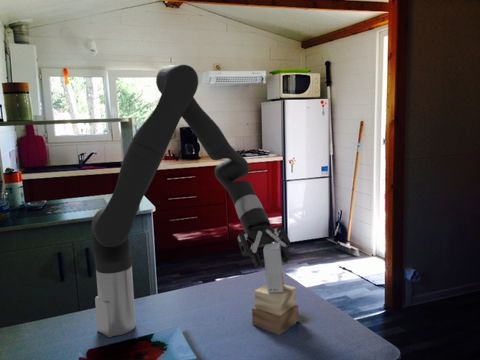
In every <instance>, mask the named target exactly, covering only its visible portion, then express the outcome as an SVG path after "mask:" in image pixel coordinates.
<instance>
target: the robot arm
mask: <svg viewBox="0 0 480 360" xmlns="http://www.w3.org/2000/svg"><path fill="white" fill-rule="evenodd" d="M155 79H156V80H155V81H156V87H157V90H158V92H160V93H161V95H160V97H159V99H158V102H157V104H156V107H155V108H154V110H153V111H152V113H151V114H150V115H149V116H148V117H147V119H146V120H145V121H144V122H143V123H142V124H141V126H140V127H139V128H138V130H136V132H135V134H134V135H133V136H132V139H131V141H130V143H129V145H128V147H127V150H126V152H125V154H124V156H123V159H122V163H121V166H120V168H119V173H118V177H117V181H116V186H115V188H114V191H113V193H112V194H111V197H110V199H109V200H108V202H107V204H106V207H103V208H101V209H99V210H98V211H96V212H95V214H94V215H93V218H92V219H91V232H92V233H91V234H92V244H93V257H94V266H95V274H96V275H95V276H96V285H97V286H96V287H97V296H95V298H94V302H95V315H96V316H95V317H96V328H97V329H96V330H97V331H98V332H100V333H101V334H103V335H104V336H106V337H108V338H112V337H114V336H121V335H125V334H127V333H130V332H131V331H133V330H134V329H135V328H136V324H137V323H136V310H135V293H134V281H133V278H134V277H133V265H132V264H133V263H132V255H131V254H132V253H131V250H130V249H131V248H130V243H129V242H130V241H129V236H130V234H131V231H132V229H133V225H134V222H135V220H136V216H137V213H138V210H139V207H140V205H141V203H142V201H143V198H144V196H145V194H146V193H147V191H148V190H149V187H150V185H151V183H152V182H153V179H154V177H155V176H156V173H157V171H158V170H159V168H160V165H161V163H162V160H164V159H163V158H164V156H165V154H166V152H167V149H168V147H169V145H170V142H171V141H172V138H173V136H174V134H175V131H176V129H177V127H178V125H179V122H180V121H181V118H182V119H183V120H184V122H185V123H186V124H187V125H188V127H189V128H190V129H191V131H192V133H193V134H194V135H195V136H196V139H197V140H198V141H199V143H200V144H201V146H202V147H203V149H204V151H205V152H206V153H207V155H208V157H209V158H210V159H211V160H212V161H219V160H223V159H226V160H224V161H222V162H220V163H219V164H217V165H216V166H215V168H214V176H215V178H216V179H217V181H218V182H219V184H221V185H222V186H223V187H224V189H225V190H226V191H227V193H228V195H229V196H230V198H231V201H232V203H233V206H234V208H235V212H236V214H237V218H238V219H239V220H240V224H241V225H242V228H243V231H244V232H240V233H238V236H237V238H236V240H237V243H238V246H239V249H240V252H241V254H242V257H250V258H251V261H252V263H253V266H254V267H255V268H257V270H260V269H262V267H263V265H264V264H263V262H262V260H261V258H260V255H259V253H258V252H257V251H258V248H262V247H263V248H264V246H265V244H270V243H280V250H281V259H282V262H284V264H287V263H289V262H290V260H291V255H290V253H289V251H288V249H287V248H288V247H289V246H290V244H291V240H290V238H289V237H288V234H287V233H286V232H285V229H284V228H283V226H282V225H279V226H278V227H276V228H273V227H272V226H271V223H270V219H269V217H268V215H267V213H266V211H265V208H264V207H263V205H262V202H261V200H260V199H259V198H258V196H257V195H256V192H255V190H254V186H252V184H251V183H250V181H247V180H240V179H242V178H245V177H246V176H248V174H249V172H250V165H249V163H248V161H247V159H245V157H244V156H243V155H241V154H240V153H239V152H237V151H236V150H235V148H234V147H233V146H232V145H231V144H230V143H229V141H228V139H227V138H226V136H225V135H224V133H223V132H222V130H221V128H220V127H219V126H218V124H217V123H216V122H215V121H214V120H213V119H212V118H211V117H210V116H209V115H208V113H206V111H205V110H204V109H203V108H202V107H201V106H200V104H199V103H198V102H197V100H196V98H195V97H194V96H195V94H196V93H197V90H198V88H199V76H198V74H197V72H196V70H195V68H193V67H192V66H191V65H188V64H180V63H179V64H170V65H165V66H163V67H161V69H159V71H158V73H157V75H156V78H155ZM239 180H240V181H239ZM236 181H237V182H236ZM247 240H248V241H249V242H250V243H251V244H250V245H251V246H250V247H249V244H248V241H247ZM273 240H274V241H273Z"/></svg>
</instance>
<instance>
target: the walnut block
mask: <svg viewBox="0 0 480 360" xmlns="http://www.w3.org/2000/svg"><path fill="white" fill-rule="evenodd" d="M251 311H252V312H251V315H252V316H251V318H252V325H253V326H255V327H258V328H260V329H263V330H265V331H267V332H270V333H272V334H275V335H278V336H280V335H281V334H283V333H284V332H286V331H288V330H289V329H291V328H292V327H293V326H295V325H297V323H296V322H297V321H298V322H299V305H297V304H296V305H295V306H294V307H292V308H291V309H289V310H288V311H287V312H285V313H284V314H282V315H281V316H278V315H275V314H272V313H269V312H266V311H263V310H260V309H256V308H255V306H253V307H252V308H251Z"/></svg>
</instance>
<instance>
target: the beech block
mask: <svg viewBox="0 0 480 360" xmlns="http://www.w3.org/2000/svg"><path fill="white" fill-rule="evenodd" d="M296 291H297V289H296V287H295V286H291V285H287V284H284V287H283V292H275V293H268V290H267V283H266V284H264V285H262V286H260V287H259V288H257V289H255V290H254V304H255V305H254V307H255V308H256V309H260V310H263V311H266V312H269V313H272V314H275V315H278V316H281V315H282V314H284V313H285V312H287V311H288V310H289V309H291V308H292V307H294V306H295V305H297V294H296Z"/></svg>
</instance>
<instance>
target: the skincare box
mask: <svg viewBox="0 0 480 360" xmlns="http://www.w3.org/2000/svg"><path fill="white" fill-rule="evenodd" d="M262 252H263V261H264V270H265V279H266V284H267V290H268V293H275V292H283V287H284V285H285V279H284V269H283V259H282V256H281V250H280V243H270V244H265V246H263V249H262Z"/></svg>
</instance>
